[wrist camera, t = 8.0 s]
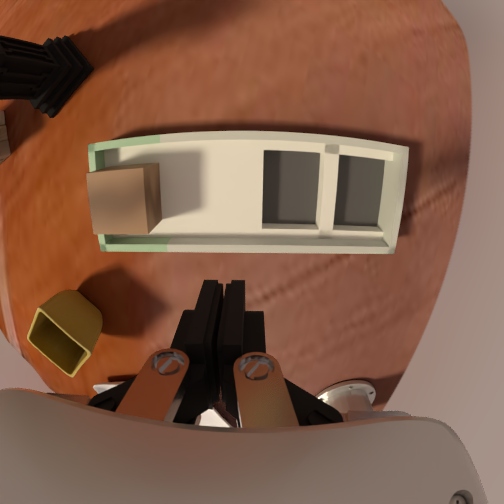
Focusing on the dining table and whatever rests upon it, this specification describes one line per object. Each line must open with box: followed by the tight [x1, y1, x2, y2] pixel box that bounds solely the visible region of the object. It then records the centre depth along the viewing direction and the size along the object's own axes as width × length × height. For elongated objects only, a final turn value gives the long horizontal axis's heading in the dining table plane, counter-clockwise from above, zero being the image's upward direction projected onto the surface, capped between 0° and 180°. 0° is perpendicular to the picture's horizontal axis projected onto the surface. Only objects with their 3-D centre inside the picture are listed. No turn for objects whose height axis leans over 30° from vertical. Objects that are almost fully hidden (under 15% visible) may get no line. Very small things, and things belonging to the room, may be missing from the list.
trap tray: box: [88, 131, 409, 254], centre depth 27 cm, size 12×32×4 cm, turn 89°
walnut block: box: [86, 163, 162, 234], centre depth 25 cm, size 6×6×4 cm
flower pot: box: [27, 290, 103, 377], centre depth 31 cm, size 9×9×9 cm
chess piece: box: [0, 36, 94, 118], centre depth 13 cm, size 8×8×20 cm
